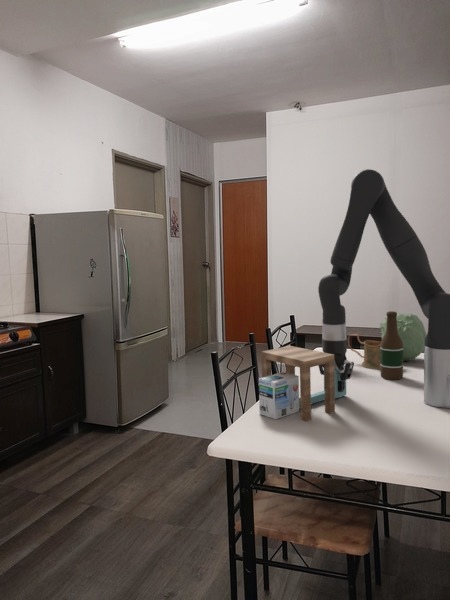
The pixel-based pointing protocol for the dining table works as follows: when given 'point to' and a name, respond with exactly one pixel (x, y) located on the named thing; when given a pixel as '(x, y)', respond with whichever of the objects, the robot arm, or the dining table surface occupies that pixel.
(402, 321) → the cabbage
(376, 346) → the mug
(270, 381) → the light bulb box
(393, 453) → the dining table surface
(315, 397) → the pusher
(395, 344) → the beer bottle
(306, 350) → the bench
